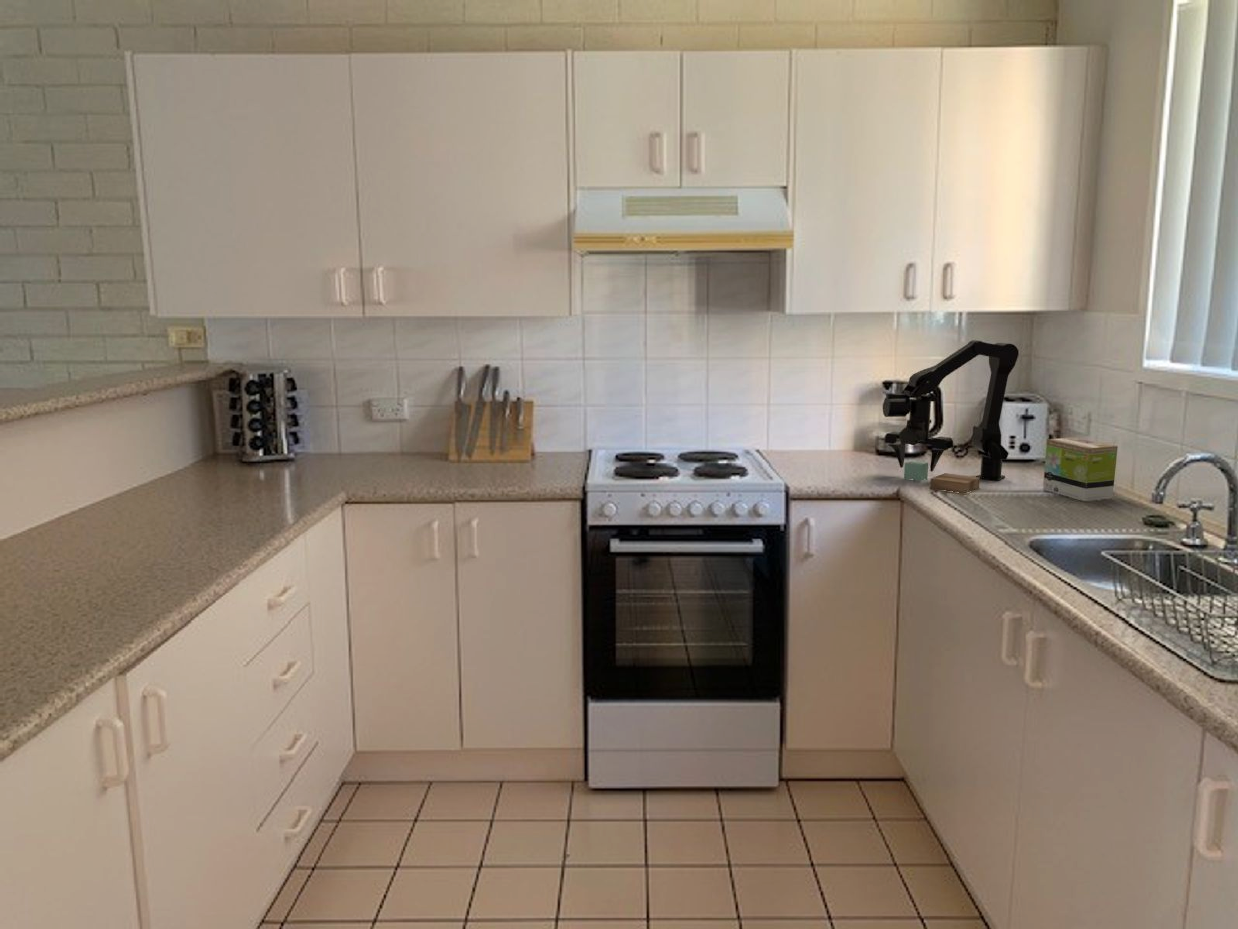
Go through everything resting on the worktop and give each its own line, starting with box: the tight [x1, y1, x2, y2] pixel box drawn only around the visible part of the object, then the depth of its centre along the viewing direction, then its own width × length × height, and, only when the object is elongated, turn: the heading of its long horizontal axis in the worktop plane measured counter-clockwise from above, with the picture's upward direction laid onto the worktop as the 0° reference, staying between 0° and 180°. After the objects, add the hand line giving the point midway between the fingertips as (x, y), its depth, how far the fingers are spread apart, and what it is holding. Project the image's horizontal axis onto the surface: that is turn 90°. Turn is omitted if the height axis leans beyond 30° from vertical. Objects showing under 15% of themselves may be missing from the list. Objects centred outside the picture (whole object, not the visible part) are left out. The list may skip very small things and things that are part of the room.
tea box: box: [1042, 436, 1119, 502], centre depth 248 cm, size 15×10×15 cm, turn 19°
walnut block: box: [929, 472, 981, 494], centre depth 257 cm, size 10×10×4 cm
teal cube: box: [903, 460, 929, 482], centre depth 271 cm, size 5×5×5 cm
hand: (916, 469), depth 271 cm, fingers open, 9 cm apart
